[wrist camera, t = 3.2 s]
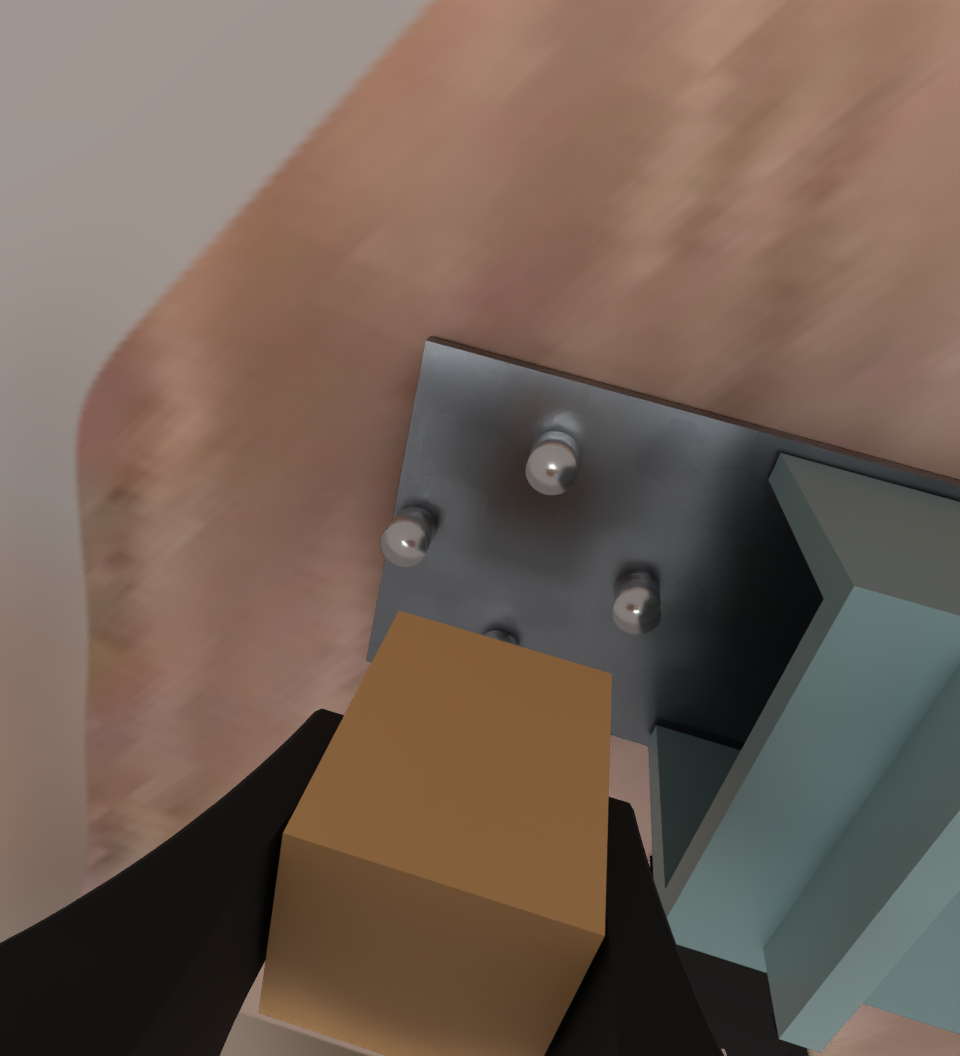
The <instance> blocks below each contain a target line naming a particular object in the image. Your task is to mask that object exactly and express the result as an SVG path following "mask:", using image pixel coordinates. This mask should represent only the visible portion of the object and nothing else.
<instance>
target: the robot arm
mask: <svg viewBox="0 0 960 1056" xmlns="http://www.w3.org/2000/svg"><path fill="white" fill-rule="evenodd" d="M343 717H344V715H341V714H338V713H334V712H331V711H328V710H325V709H320V710H318V711H315V712H314V713H313V714H312V715H311V716H310V717H309V718H308V719H307V721H306V722H305V723H304V724H303V725H302V726H301V727H300V728H299V729H298V730H297V731H296V732H295V733H294V734H293V735H292V736H291V737H290V738H289V739H288V740H287V741H286V742H285V743H284V744H283V745H282V746H280V747H279V748H278V749H277V750H276V751H275V752H274V753H273V754H272V755H271V756H270V757H269V758H268V759H266V760H265V761H264V762H263V763H262V764H261V765H260V766H259V767H258V768H256V769H255V770H254V771H253V772H252V773H251V774H249V775H248V776H247V777H246V778H245V779H244V780H242V781H241V782H240V783H239V784H238V785H237V786H236V787H234V788H233V789H232V790H231V791H230V792H229V793H227V794H226V795H225V796H224V797H223V798H221V799H220V800H219V801H218V802H216V803H215V804H214V805H212V806H211V807H210V808H209V809H207V810H206V811H205V812H203V813H202V814H201V815H200V816H198V817H197V818H196V819H194V820H193V821H192V822H191V823H189V824H188V825H187V826H185V827H184V828H183V829H182V830H180V831H179V832H178V833H176V834H175V835H174V836H172V837H171V838H170V839H168V840H167V841H165V842H164V843H163V844H161V845H160V846H158V847H157V848H156V849H154V850H153V851H151V852H150V853H148V854H147V855H146V856H144V857H143V858H141V859H140V860H138V861H137V862H135V863H134V864H132V865H131V866H129V867H128V868H126V869H125V870H123V871H122V872H120V873H119V874H117V875H116V876H114V877H113V878H111V879H110V880H108V881H106V882H105V883H103V884H102V885H100V886H98V887H97V888H95V889H94V890H92V891H90V892H89V893H87V894H85V895H84V896H82V897H81V898H79V899H77V900H76V901H74V902H73V903H71V904H69V905H68V906H66V907H65V908H63V909H61V910H59V911H57V912H56V913H54V914H52V915H51V916H49V917H47V918H46V919H44V920H42V921H40V922H38V923H37V924H35V925H33V926H32V927H29V928H28V929H26V930H24V931H22V932H20V933H18V934H16V935H14V936H12V937H11V938H9V939H7V940H5V941H3V942H1V943H0V1056H220V1053H221V1051H222V1049H223V1046H224V1044H225V1042H226V1039H227V1037H228V1035H229V1032H230V1030H231V1027H232V1025H233V1023H234V1021H235V1019H236V1017H237V1015H238V1013H239V1011H240V1009H241V1007H242V1005H243V1002H244V1000H245V998H246V996H247V994H248V992H249V990H250V988H251V987H252V985H253V983H254V981H255V979H256V977H257V975H258V973H259V971H260V969H261V968H262V966H263V964H264V962H265V960H266V954H267V946H268V939H269V932H270V924H271V917H272V910H273V902H274V895H275V888H276V880H277V873H278V866H279V858H280V851H281V844H282V836H283V832H284V830H285V828H286V826H287V824H288V822H289V820H290V819H291V817H292V815H293V813H294V811H295V809H296V807H297V805H298V803H299V801H300V799H301V797H302V796H303V794H304V792H305V790H306V788H307V786H308V784H309V782H310V780H311V778H312V776H313V774H314V772H315V771H316V769H317V767H318V765H319V763H320V761H321V759H322V757H323V755H324V753H325V751H326V749H327V748H328V746H329V744H330V742H331V740H332V738H333V736H334V734H335V732H336V730H337V728H338V726H339V724H340V723H341V721H342V719H343ZM544 1056H724V1054H723V1052H722V1050H721V1048H720V1046H719V1044H718V1042H717V1040H716V1037H715V1035H714V1033H713V1031H712V1029H711V1026H710V1024H709V1022H708V1020H707V1017H706V1015H705V1013H704V1011H703V1008H702V1006H701V1004H700V1001H699V999H698V997H697V994H696V992H695V989H694V987H693V985H692V982H691V980H690V978H689V975H688V973H687V970H686V968H685V965H684V963H683V960H682V958H681V955H680V952H679V950H678V947H677V945H676V942H675V939H674V936H673V934H672V931H671V928H670V925H669V923H668V920H667V917H666V914H665V912H664V909H663V906H662V903H661V900H660V897H659V894H658V891H657V888H656V885H655V882H654V879H653V876H652V873H651V870H650V867H649V863H648V860H647V857H646V853H645V850H644V847H643V843H642V840H641V836H640V833H639V829H638V825H637V821H636V818H635V814H634V810H633V808H632V807H631V805H630V803H627V802H624V801H621V800H618V799H614V798H611V797H609V800H608V837H607V874H606V910H605V937H604V938H603V940H602V942H601V944H600V946H599V948H598V950H597V952H596V954H595V956H594V958H593V960H592V962H591V964H590V966H589V968H588V970H587V972H586V974H585V976H584V978H583V980H582V982H581V984H580V986H579V988H578V990H577V992H576V994H575V996H574V998H573V1000H572V1002H571V1004H570V1006H569V1008H568V1010H567V1012H566V1013H565V1015H564V1017H563V1019H562V1021H561V1023H560V1025H559V1027H558V1029H557V1031H556V1033H555V1035H554V1037H553V1039H552V1041H551V1043H550V1045H549V1047H548V1049H547V1051H546V1053H545V1055H544Z"/></svg>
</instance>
